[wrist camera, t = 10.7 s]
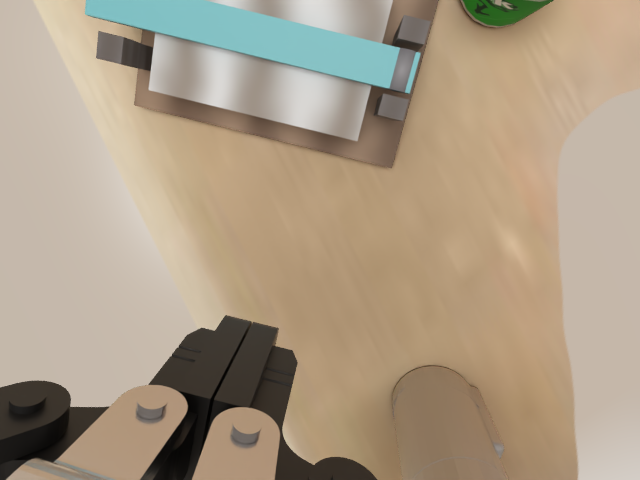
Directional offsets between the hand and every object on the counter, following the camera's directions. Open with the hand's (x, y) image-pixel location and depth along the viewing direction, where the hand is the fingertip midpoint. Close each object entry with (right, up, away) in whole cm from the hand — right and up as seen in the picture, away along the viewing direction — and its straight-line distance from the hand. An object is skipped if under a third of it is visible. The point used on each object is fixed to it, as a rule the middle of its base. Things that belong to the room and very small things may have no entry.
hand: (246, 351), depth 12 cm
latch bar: (-3, +19, +23) cm, 30 cm away
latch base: (-2, +21, +31) cm, 37 cm away
